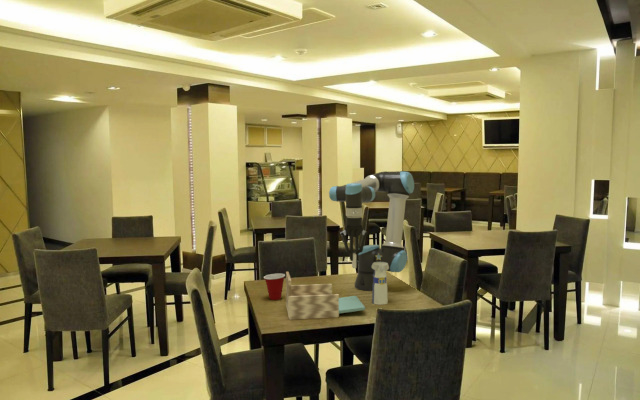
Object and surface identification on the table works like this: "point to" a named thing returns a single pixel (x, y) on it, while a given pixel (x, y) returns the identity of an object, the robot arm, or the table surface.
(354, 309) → the teal flat panel
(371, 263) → the robot arm
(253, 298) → the table surface
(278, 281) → the plastic cup
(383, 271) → the blue-banded white tube
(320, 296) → the crate
